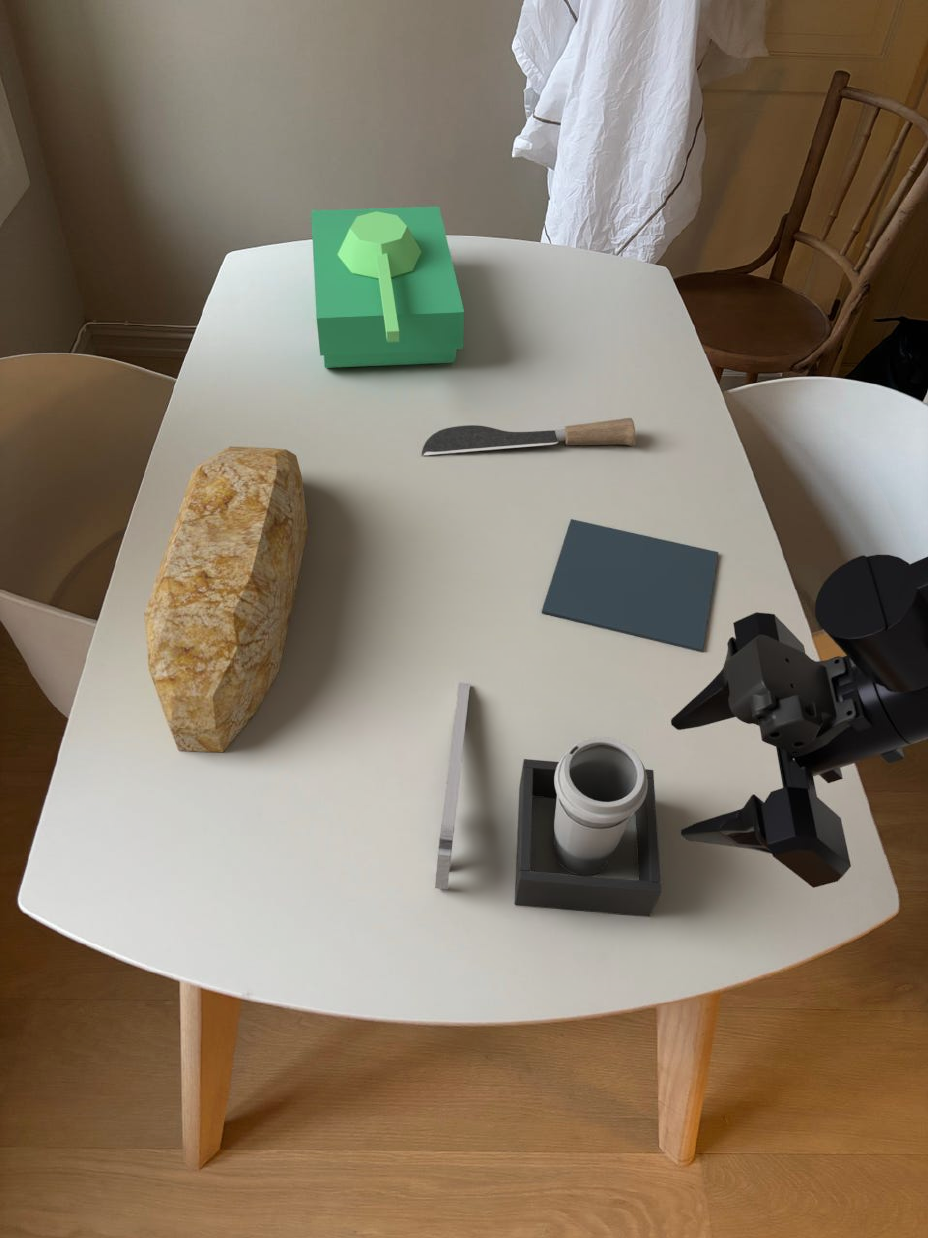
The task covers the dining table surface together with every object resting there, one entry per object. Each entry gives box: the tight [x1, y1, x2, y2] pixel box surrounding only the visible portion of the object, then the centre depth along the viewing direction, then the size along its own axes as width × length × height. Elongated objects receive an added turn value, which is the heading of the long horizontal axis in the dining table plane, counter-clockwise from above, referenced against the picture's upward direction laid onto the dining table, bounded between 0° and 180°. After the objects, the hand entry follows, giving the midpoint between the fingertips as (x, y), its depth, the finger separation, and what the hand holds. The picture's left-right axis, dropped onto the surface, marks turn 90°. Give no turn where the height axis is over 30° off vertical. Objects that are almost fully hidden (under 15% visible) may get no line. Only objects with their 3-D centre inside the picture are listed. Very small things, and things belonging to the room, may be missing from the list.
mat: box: [541, 518, 719, 653], centre depth 96 cm, size 16×14×1 cm
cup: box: [553, 736, 648, 876], centre depth 72 cm, size 7×7×12 cm
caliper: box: [434, 682, 471, 890], centre depth 78 cm, size 20×1×6 cm, turn 175°
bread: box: [143, 446, 309, 753], centre depth 89 cm, size 36×11×10 cm, turn 178°
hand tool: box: [421, 417, 636, 456], centre depth 110 cm, size 6×3×25 cm
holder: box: [514, 758, 662, 917], centre depth 75 cm, size 11×11×4 cm
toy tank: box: [310, 206, 465, 369], centre depth 120 cm, size 18×12×35 cm
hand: (678, 778), depth 67 cm, fingers open, 9 cm apart
